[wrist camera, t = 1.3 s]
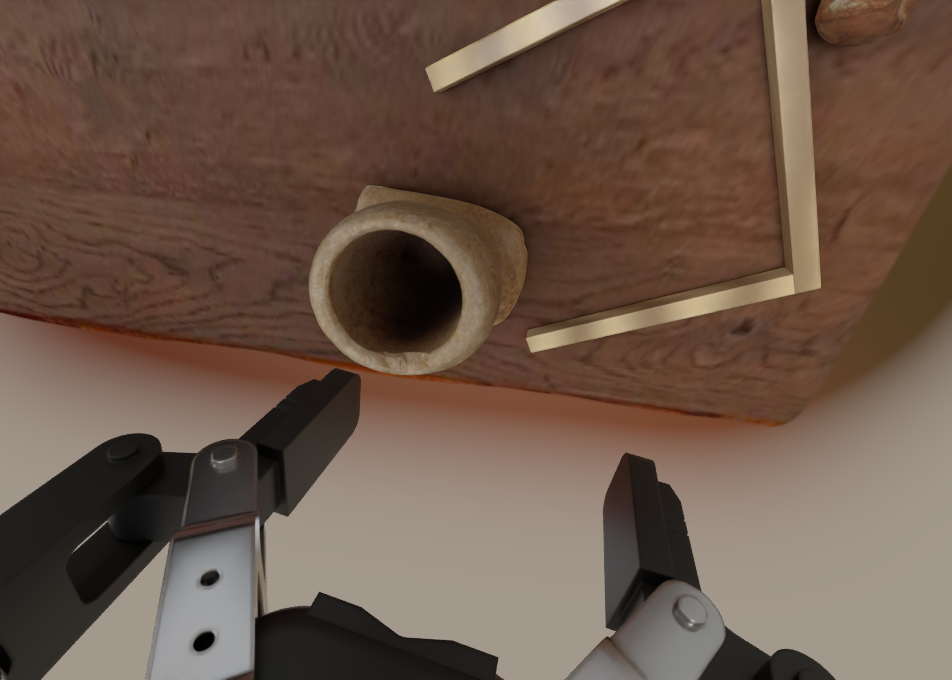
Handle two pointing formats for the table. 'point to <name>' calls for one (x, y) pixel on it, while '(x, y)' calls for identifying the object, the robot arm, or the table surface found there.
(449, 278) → the stone cup
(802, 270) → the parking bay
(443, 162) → the table surface
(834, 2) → the rusty brown cylinder
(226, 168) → the table surface
